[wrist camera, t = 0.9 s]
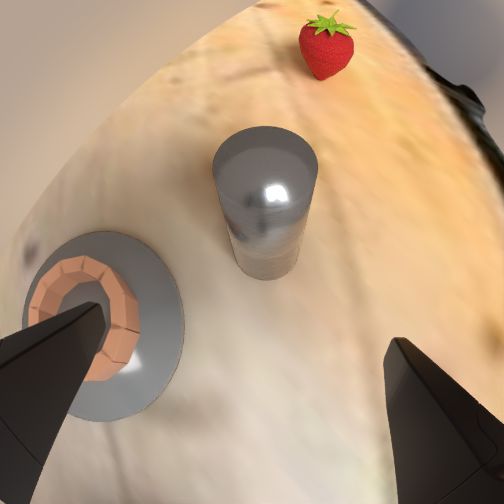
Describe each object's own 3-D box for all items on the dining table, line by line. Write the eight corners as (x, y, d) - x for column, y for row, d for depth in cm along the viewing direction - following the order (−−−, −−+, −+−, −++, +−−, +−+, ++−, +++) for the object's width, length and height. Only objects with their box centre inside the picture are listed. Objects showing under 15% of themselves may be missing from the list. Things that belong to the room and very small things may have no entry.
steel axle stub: (286, 289, 23) (301, 223, 13) (224, 268, 24) (195, 191, 14) (306, 232, 25) (328, 141, 15) (248, 213, 26) (236, 117, 16)
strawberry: (334, 62, 34) (343, -2, 24) (354, 97, 31) (371, 25, 22) (290, 63, 34) (292, -4, 24) (305, 98, 31) (313, 22, 21)
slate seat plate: (142, 455, 19) (124, 466, 16) (10, 361, 22) (-14, 356, 18) (216, 271, 24) (208, 255, 21) (72, 216, 27) (53, 199, 23)
